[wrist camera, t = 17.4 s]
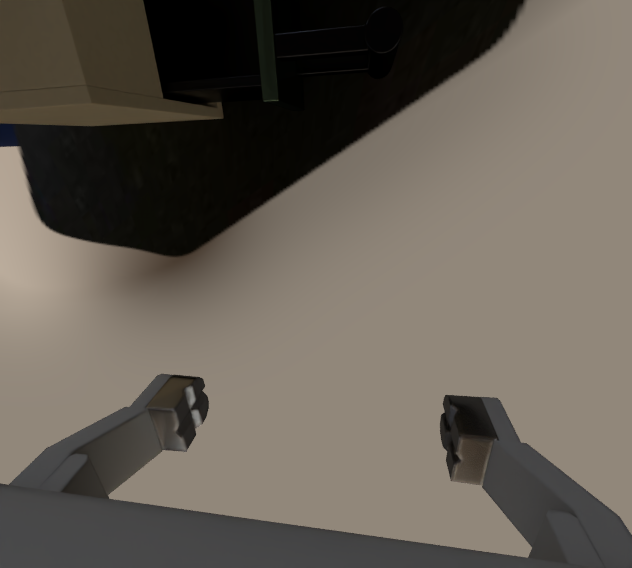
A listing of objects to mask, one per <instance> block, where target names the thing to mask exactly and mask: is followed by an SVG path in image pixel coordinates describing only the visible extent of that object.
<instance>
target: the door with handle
mask: <svg viewBox="0 0 632 568" xmlns="http://www.w3.org/2000/svg"><path fill="white" fill-rule="evenodd" d="M143 2H144V7H145V12H146V17H147V21H148V26H149V31H150V36H151V41H152V46H153V50H154V55H155V60H156V65H157V70H158V75H159V79H160V84H161V89H162V94H163V99H169V100H174V101H180V102H186V103H192V104H201V103H216V102H231V101H246V100H261V99H263V101H264V102H267V103H270V104H273V105H276V106H280V107H283V108H286V109H289V110H292V111H301V110H304V91H303V77H310V76H323V75H337V74H350V73H363V72H368V74H369V75H370V76H371V77H372V78H375V79H381V78H383V77H385V76H386V75H387V74H388V73H389V72H390V70H391V68H392V65H393V61H394V58H395V55H396V52H397V49H398V46H399V43H400V40H401V37H402V33H403V22H402V18H401V16H400V14H399V13H398V12H397V11H396V10H395V9H393V8H391V7H381V8H378V9H377V10H375V11H374V12H373V13H372V14H371V15H370V16H369V18H368V20H367V22H366V25H359V26H349V27H339V28H328V29H318V30H308V31H300V11H299V0H143Z"/></svg>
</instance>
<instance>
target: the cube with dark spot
mask: <svg viewBox="0 0 632 568" xmlns="http://www.w3.org/2000/svg"><path fill="white" fill-rule="evenodd" d="M222 118H224V117H223V110H222V103H221V102H216V103H201V104H192V103H186V102H180V101H174V100H169V99H163V94H162V89H161V84H160V79H159V75H158V70H157V65H156V60H155V55H154V50H153V46H152V41H151V36H150V31H149V26H148V21H147V17H146V12H145V7H144V2H143V0H0V123H10V124H42V125H75V126H101V125H118V124H136V123H153V122H170V121H188V120H205V119H222Z"/></svg>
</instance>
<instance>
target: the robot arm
mask: <svg viewBox="0 0 632 568" xmlns="http://www.w3.org/2000/svg"><path fill="white" fill-rule="evenodd" d="M204 387H205V384H204V381H203V379H202V378H200V377H192V376H182V375H168V374H160V375H158V376H157V377H156V378H155V379H154V380H153V381H152V382H151V383H150V384H149V386H148V387H147V388H146V389H145V390H144V391H143V392H142V394H141V395H140V396H139V397H138V398H137V399H136V401H134V402H133V404H132V405H131V406H130V407H124V408H122V409H120V410H118V411H117V412H115V413H113V414H111V415H109V416H107V417H105V418H103V419H102V420H99V421H97V422H96V423H94V424H92V425H90V426H88V427H86V428H84V429H82V430H80V431H78V432H77V433H75V434H73V435H71V436H69V437H67V438H65V439H63V440H61V441H60V442H58V443H56V444H54V445H52V446H50V447H48V448H46V449H45V450H44V451H43V452H42V453H41V454H40V455H39V456H38V457H37V458H36V459H35V460H34V461H33V462H32V463H31V464H30V465H29V466H28V467H27V468H26V469H25V470H24V471H23V472H21V474H20V475H18V476H17V477H16V478H15V479H14V480H13V481H12V482H11V483H10V484H9V485H6V484H0V568H632V535H631V533H630V532H629V530H628V529H627V527H626V526H625V525H624V523H623V521H622V520H621V518H620V517H619V516H618V515H617V514H616V513H614V512H613V511H612V510H611V509H609V508H608V507H607V506H605V505H604V504H603V503H602V502H600V501H599V500H598V499H597V498H595V497H594V496H593V495H591V494H590V493H589V492H588V491H586V490H585V489H584V488H583V487H581V486H580V485H579V484H577V483H576V482H575V481H574V480H572V479H571V478H570V477H569V476H567V475H566V474H565V473H564V472H562V471H561V470H560V469H559V468H557V467H556V466H554V465H553V464H552V463H551V462H550V461H548V460H547V459H546V458H544V457H543V456H542V455H541V454H539V453H538V452H537V451H536V450H534V449H533V448H532V447H530V446H529V445H528V444H527V443H521V442H520V440H519V438H518V436H517V434H516V432H515V430H514V428H513V426H512V424H511V422H510V420H509V418H508V416H507V414H506V412H505V410H504V408H503V406H502V404H501V402H500V400H499V399H498V398H489V397H468V396H454V395H445V397H444V401H443V406H444V410H445V413H443V414H442V415H441V421H440V434H441V440H442V444H443V447H444V448H445V449H446V450H447V457H446V462H447V466H448V470H449V474H450V478H451V481H454V482H462V483H470V484H476V485H482V487H483V489H484V490H485V491H486V492H487V493H488V494H489V496H490V497H491V498H492V499H493V501H494V502H495V503H496V504H497V505H498V507H499V508H500V509H501V510H502V511H503V513H504V514H505V515H506V516H507V518H508V519H509V520H510V521H511V522H512V524H513V525H514V526H515V527H516V528H517V530H518V531H519V532H520V533H521V534H522V536H523V537H524V538H525V539H526V540H527V542H528V543H529V544H530V545H531V546H532V550H531V552H530V555H529V557H528V558H525V557H517V556H510V555H503V554H497V553H489V552H482V551H475V550H467V549H461V548H454V547H447V546H440V545H433V544H425V543H418V542H411V541H404V540H396V539H390V538H383V537H376V536H368V535H361V534H354V533H347V532H340V531H332V530H325V529H319V528H311V527H304V526H297V525H290V524H283V523H275V522H268V521H261V520H254V519H247V518H239V517H232V516H225V515H218V514H211V513H205V512H198V511H191V510H184V509H177V508H170V507H162V506H155V505H149V504H141V503H134V502H127V501H120V500H113V499H109V497H108V495H109V494H110V493H111V492H112V491H114V490H115V489H116V488H117V487H118V486H120V485H121V484H122V483H123V482H125V481H126V480H127V479H128V478H130V477H131V476H132V475H133V474H135V473H136V472H137V471H138V470H140V469H141V468H142V467H143V466H144V465H146V464H147V463H148V462H149V461H150V460H152V459H153V458H154V457H156V456H157V455H158V454H159V453H161V452H162V450H173V451H184V452H186V451H187V449H188V448H189V446H190V444H191V443H192V441H193V439H194V437H195V436H196V431H195V428H197V427H198V426H200V425H201V424H203V422H204V420H205V418H206V416H207V412H208V408H209V401H208V397H207V395H206V394H205V393H204V392H203V391H202V390H203V389H204Z"/></svg>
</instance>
